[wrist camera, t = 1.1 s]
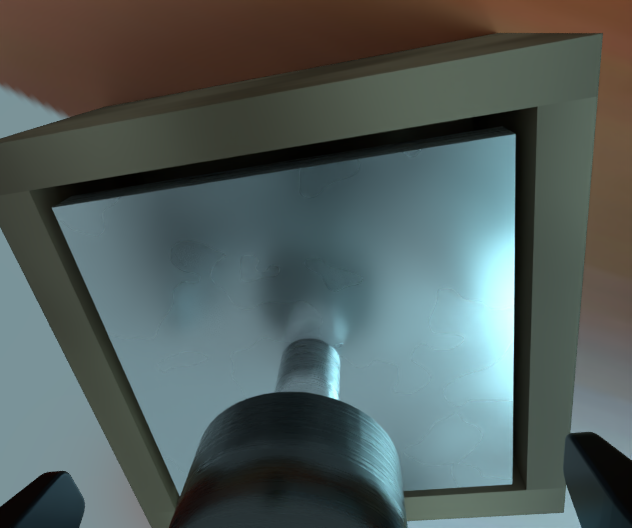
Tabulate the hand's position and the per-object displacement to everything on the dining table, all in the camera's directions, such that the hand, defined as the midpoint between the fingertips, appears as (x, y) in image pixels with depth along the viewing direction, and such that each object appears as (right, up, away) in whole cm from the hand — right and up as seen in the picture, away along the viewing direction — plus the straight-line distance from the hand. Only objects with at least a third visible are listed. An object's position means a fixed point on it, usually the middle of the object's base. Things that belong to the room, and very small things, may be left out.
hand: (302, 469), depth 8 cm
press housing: (0, +4, +8) cm, 9 cm away
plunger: (0, +2, +3) cm, 4 cm away
